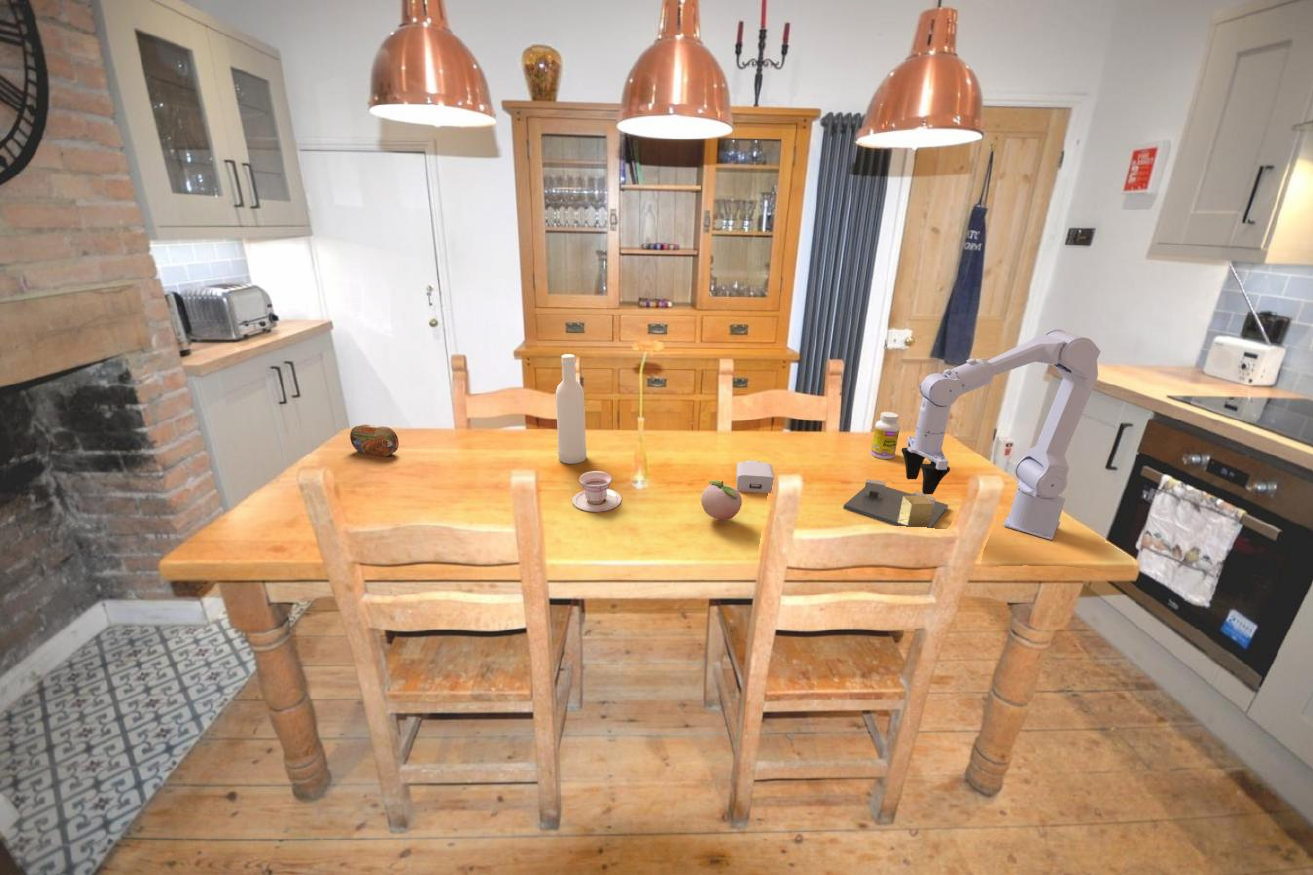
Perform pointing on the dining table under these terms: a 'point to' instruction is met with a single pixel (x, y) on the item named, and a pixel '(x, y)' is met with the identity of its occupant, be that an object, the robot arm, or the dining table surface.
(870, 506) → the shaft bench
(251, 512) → the dining table surface
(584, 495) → the teacup
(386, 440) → the tin
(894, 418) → the supplement bottle
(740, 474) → the charger
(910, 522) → the block
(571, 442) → the bottle
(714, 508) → the decorative fruit
